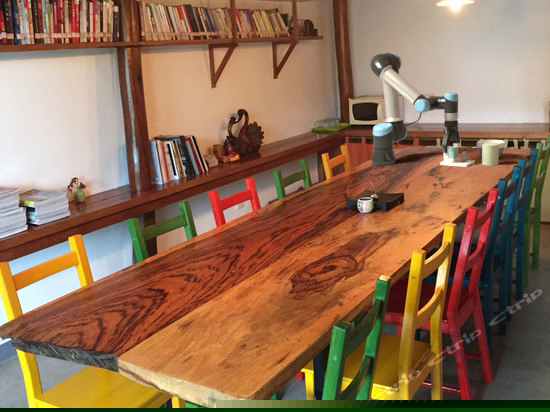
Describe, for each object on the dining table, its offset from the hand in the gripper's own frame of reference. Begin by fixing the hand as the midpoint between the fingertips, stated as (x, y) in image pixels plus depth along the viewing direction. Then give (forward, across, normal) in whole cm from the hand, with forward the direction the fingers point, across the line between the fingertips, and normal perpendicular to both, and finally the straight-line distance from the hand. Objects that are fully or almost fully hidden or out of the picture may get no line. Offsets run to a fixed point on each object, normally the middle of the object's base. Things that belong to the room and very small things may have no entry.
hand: (451, 156), depth 371 cm
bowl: (+4, +24, -14) cm, 28 cm away
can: (+4, +6, -21) cm, 22 cm away
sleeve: (+3, 0, 0) cm, 3 cm away
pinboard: (+4, 0, -4) cm, 6 cm away
